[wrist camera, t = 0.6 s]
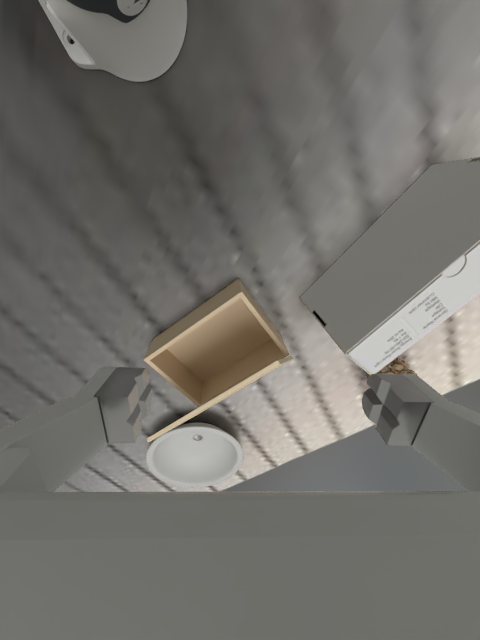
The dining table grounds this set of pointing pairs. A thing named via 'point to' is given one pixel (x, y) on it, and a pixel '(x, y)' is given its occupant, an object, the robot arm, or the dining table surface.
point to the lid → (221, 397)
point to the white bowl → (194, 456)
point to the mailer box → (216, 345)
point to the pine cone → (395, 368)
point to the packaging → (405, 268)
